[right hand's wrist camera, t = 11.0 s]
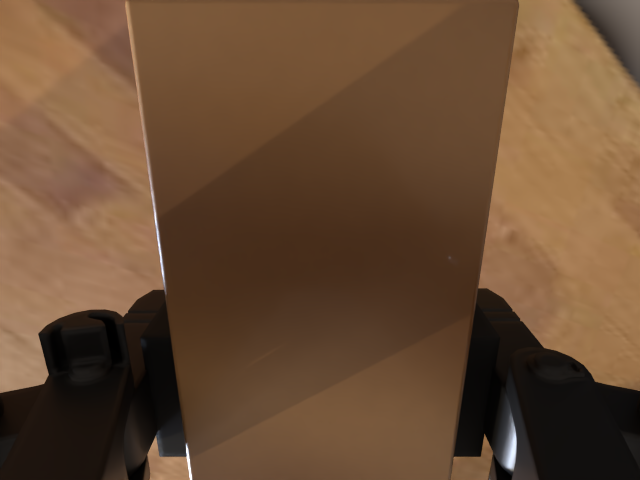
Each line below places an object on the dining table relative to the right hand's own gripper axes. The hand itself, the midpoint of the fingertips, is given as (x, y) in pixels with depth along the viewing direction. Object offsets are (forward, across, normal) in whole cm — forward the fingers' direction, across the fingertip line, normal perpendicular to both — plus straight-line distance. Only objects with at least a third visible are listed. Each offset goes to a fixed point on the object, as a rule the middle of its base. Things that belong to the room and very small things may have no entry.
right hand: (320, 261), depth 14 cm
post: (+1, 0, -22) cm, 22 cm away
